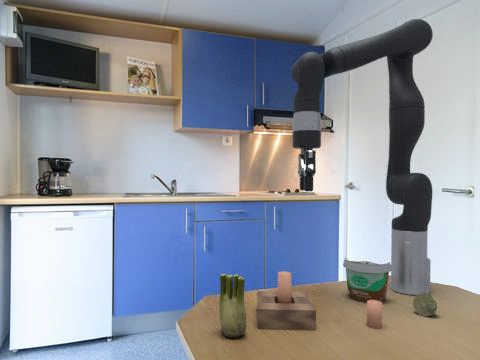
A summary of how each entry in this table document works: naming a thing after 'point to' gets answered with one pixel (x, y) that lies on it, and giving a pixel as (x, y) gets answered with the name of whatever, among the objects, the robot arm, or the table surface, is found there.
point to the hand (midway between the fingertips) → (306, 190)
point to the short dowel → (374, 314)
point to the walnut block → (285, 311)
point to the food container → (367, 280)
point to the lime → (425, 304)
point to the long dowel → (284, 287)
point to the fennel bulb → (232, 305)
